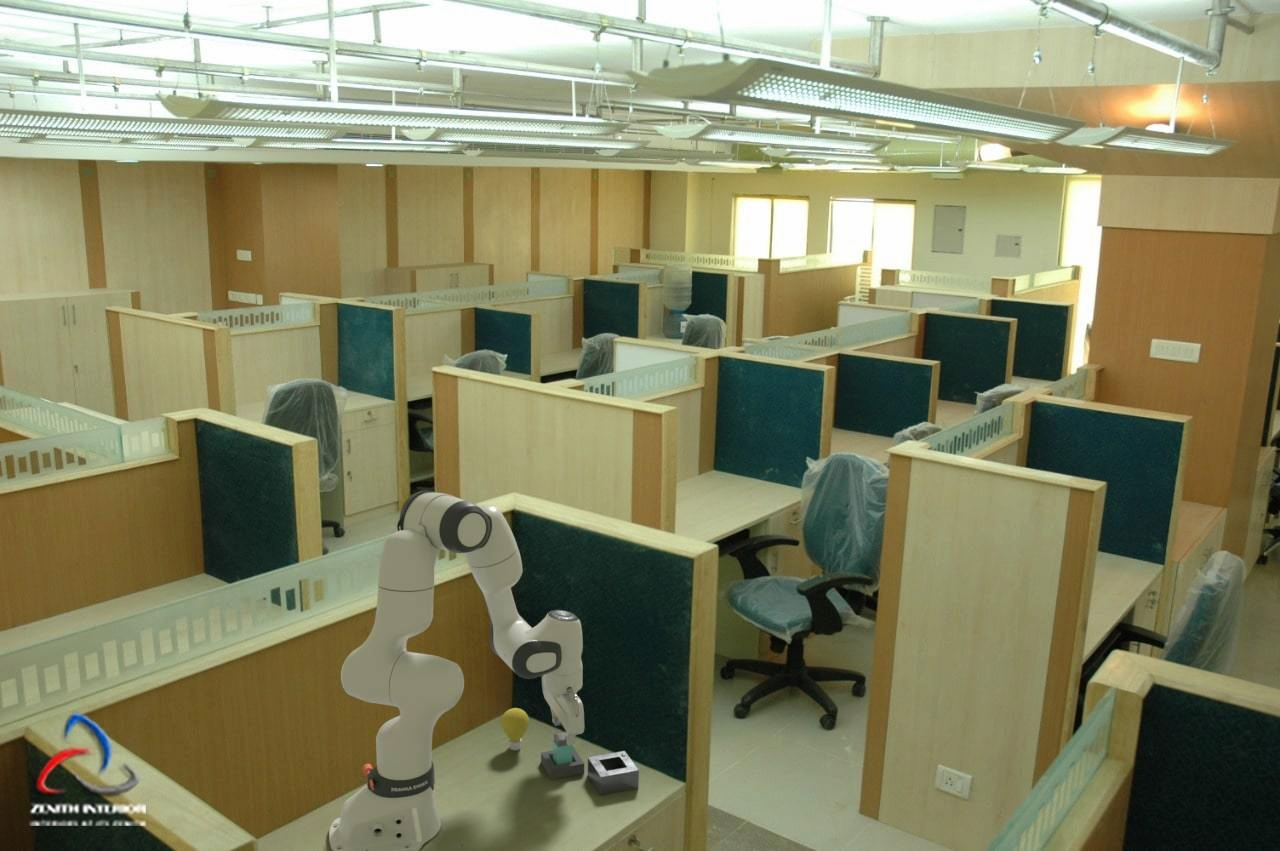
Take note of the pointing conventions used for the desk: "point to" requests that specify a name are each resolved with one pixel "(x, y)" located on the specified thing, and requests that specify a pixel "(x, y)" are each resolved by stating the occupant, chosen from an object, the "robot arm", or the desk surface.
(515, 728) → the light bulb
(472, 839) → the desk surface
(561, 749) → the plug
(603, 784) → the port
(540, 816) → the desk surface
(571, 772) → the frame
